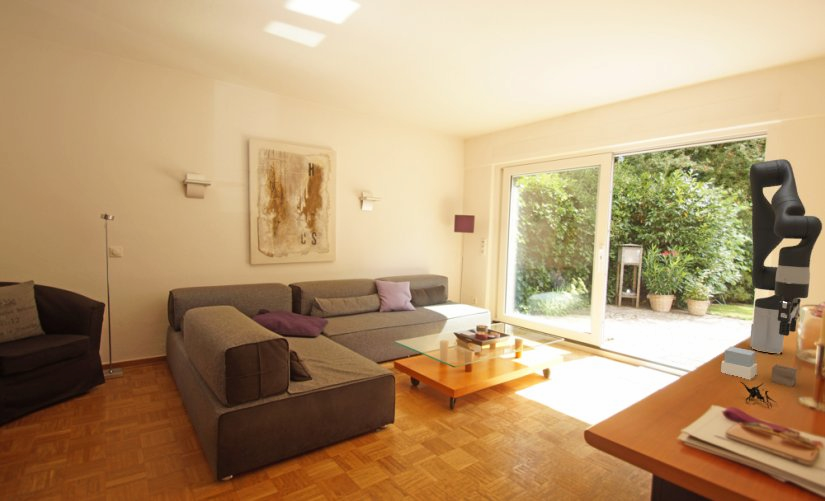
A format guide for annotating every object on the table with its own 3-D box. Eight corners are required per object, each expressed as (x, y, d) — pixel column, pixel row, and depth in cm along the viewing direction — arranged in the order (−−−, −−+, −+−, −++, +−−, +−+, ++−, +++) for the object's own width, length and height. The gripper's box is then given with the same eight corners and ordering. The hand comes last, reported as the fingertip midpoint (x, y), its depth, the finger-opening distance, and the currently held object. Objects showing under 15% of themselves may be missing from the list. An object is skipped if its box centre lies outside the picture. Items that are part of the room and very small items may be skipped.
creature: (784, 414, 106) (762, 395, 113) (790, 397, 104) (767, 378, 112) (752, 412, 106) (732, 393, 114) (757, 394, 105) (737, 377, 112)
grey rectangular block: (729, 358, 136) (730, 346, 136) (754, 363, 131) (755, 351, 130) (724, 361, 132) (725, 349, 131) (749, 367, 127) (750, 355, 126)
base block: (728, 368, 137) (728, 357, 136) (756, 375, 131) (757, 363, 131) (720, 373, 132) (721, 361, 132) (749, 380, 126) (750, 368, 126)
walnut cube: (775, 378, 128) (776, 364, 128) (795, 383, 124) (796, 368, 124) (771, 382, 125) (772, 367, 125) (791, 387, 121) (793, 371, 121)
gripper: (781, 278, 130) (777, 327, 131) (769, 280, 121) (765, 333, 122) (813, 281, 124) (808, 332, 125) (804, 284, 115) (798, 339, 116)
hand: (787, 333), depth 124 cm, fingers open, 8 cm apart
